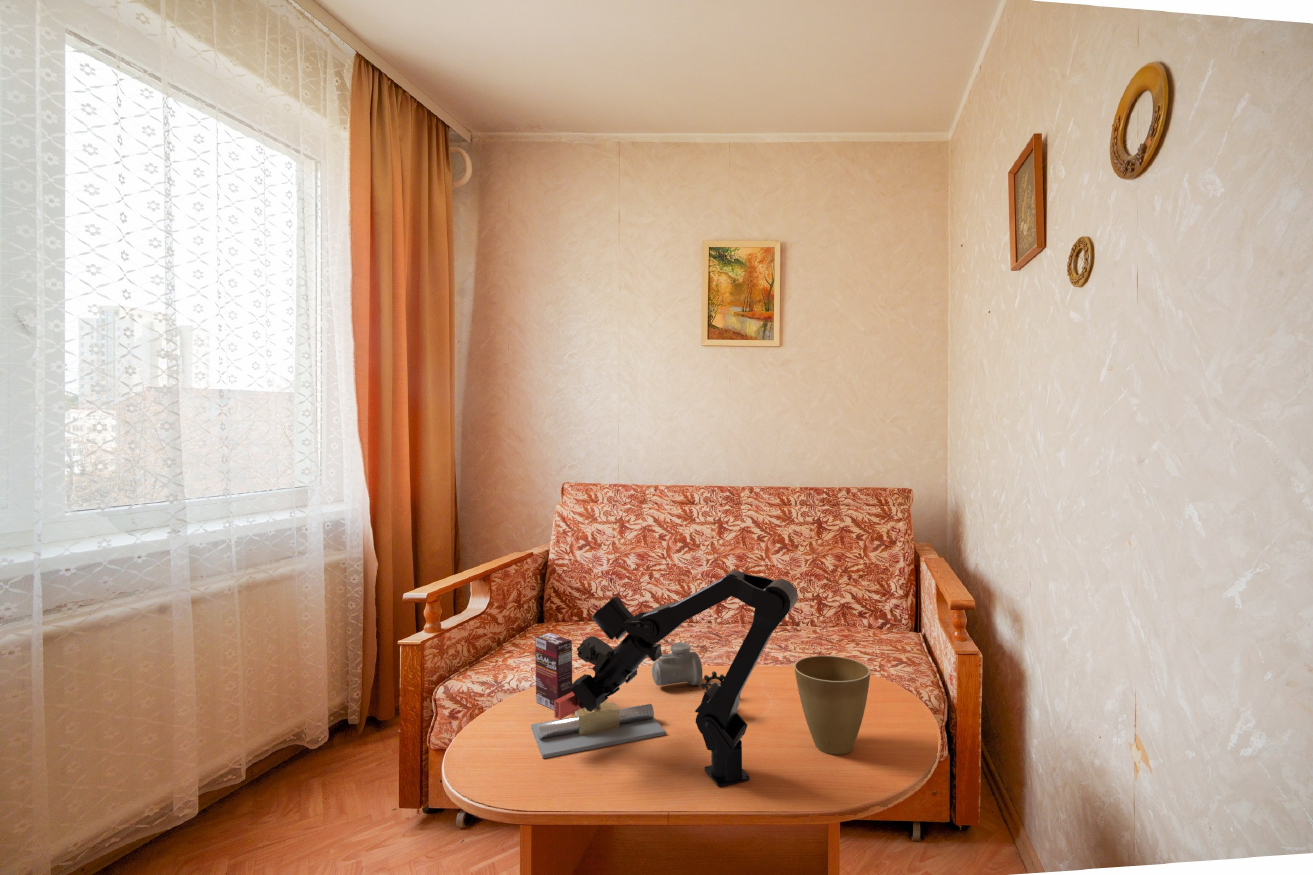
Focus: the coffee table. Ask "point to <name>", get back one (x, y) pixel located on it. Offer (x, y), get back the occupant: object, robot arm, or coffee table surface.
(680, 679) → the pipe fitting
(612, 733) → the mounting board
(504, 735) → the coffee table surface
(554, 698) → the supplement box
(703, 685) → the valve
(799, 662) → the plant pot
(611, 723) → the valve body
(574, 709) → the valve lever
